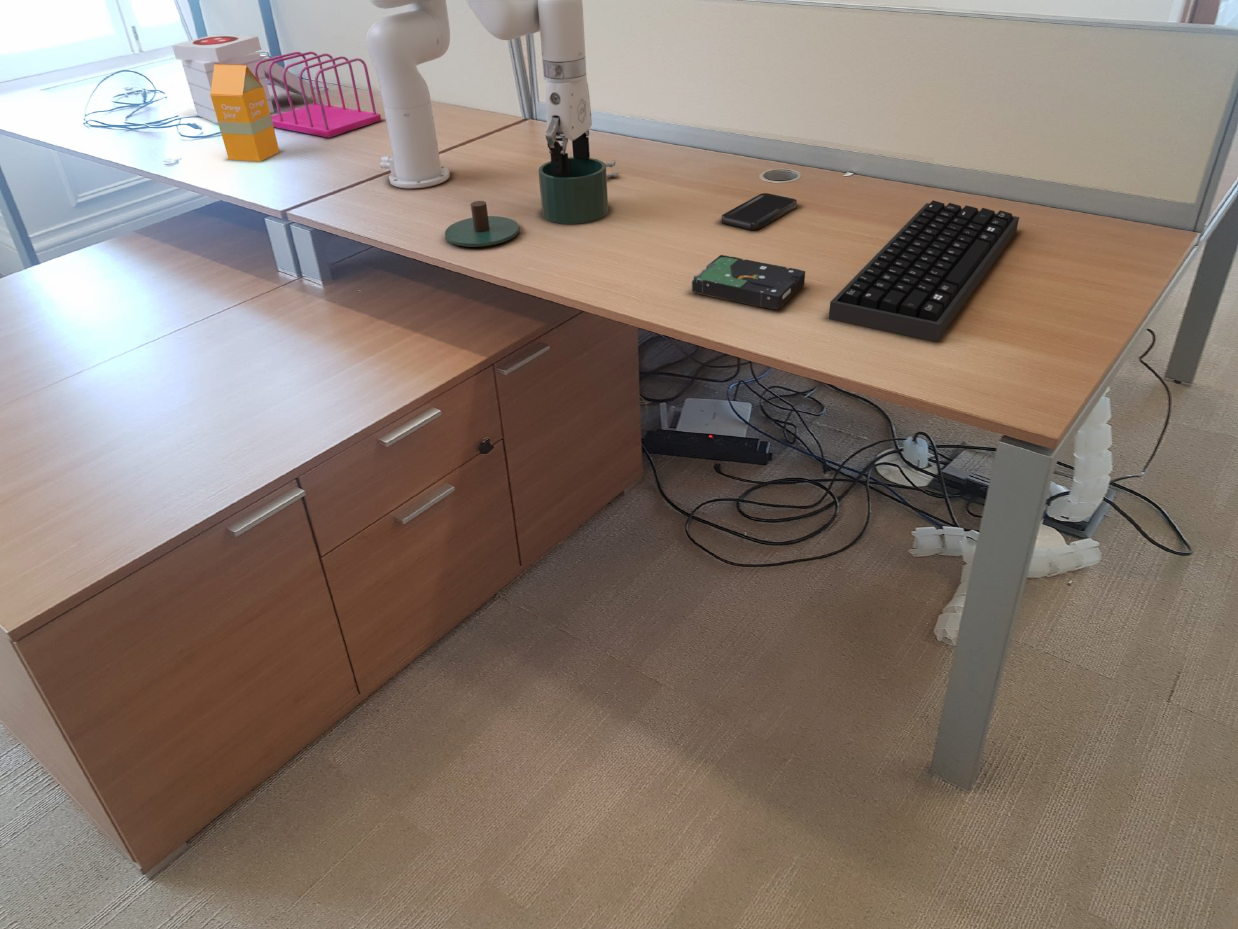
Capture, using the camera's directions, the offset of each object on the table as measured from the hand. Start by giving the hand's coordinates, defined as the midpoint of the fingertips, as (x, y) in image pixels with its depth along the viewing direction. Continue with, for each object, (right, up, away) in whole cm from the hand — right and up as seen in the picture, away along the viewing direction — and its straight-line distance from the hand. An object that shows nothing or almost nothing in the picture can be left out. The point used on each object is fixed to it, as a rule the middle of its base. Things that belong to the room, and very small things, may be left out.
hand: (571, 166), depth 173 cm
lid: (-16, -13, -3) cm, 21 cm away
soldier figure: (+3, +3, +19) cm, 19 cm away
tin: (+1, -7, +5) cm, 9 cm away
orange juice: (-76, +17, +45) cm, 90 cm away
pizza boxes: (-90, +41, +80) cm, 127 cm away
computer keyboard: (+58, -25, -24) cm, 68 cm away
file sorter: (-66, +31, +65) cm, 98 cm away
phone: (+35, -9, 0) cm, 36 cm away
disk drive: (+29, -28, -26) cm, 48 cm away
